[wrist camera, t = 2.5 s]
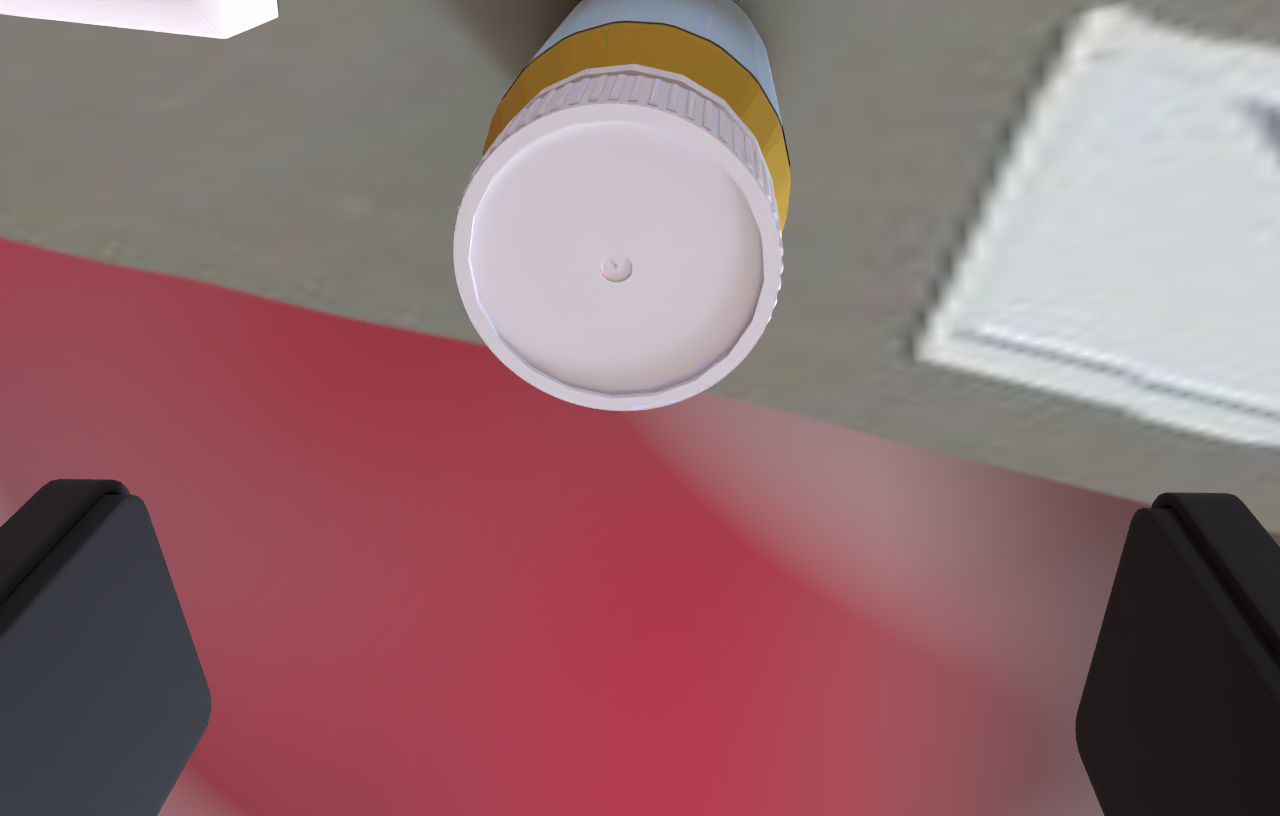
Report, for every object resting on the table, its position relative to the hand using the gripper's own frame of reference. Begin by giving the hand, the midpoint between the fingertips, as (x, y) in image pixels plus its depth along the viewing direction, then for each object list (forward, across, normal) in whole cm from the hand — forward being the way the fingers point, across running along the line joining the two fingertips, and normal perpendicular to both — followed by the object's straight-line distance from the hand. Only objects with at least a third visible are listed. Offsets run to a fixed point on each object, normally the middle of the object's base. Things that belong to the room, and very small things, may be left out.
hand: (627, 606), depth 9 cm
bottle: (+25, +1, 0) cm, 25 cm away
